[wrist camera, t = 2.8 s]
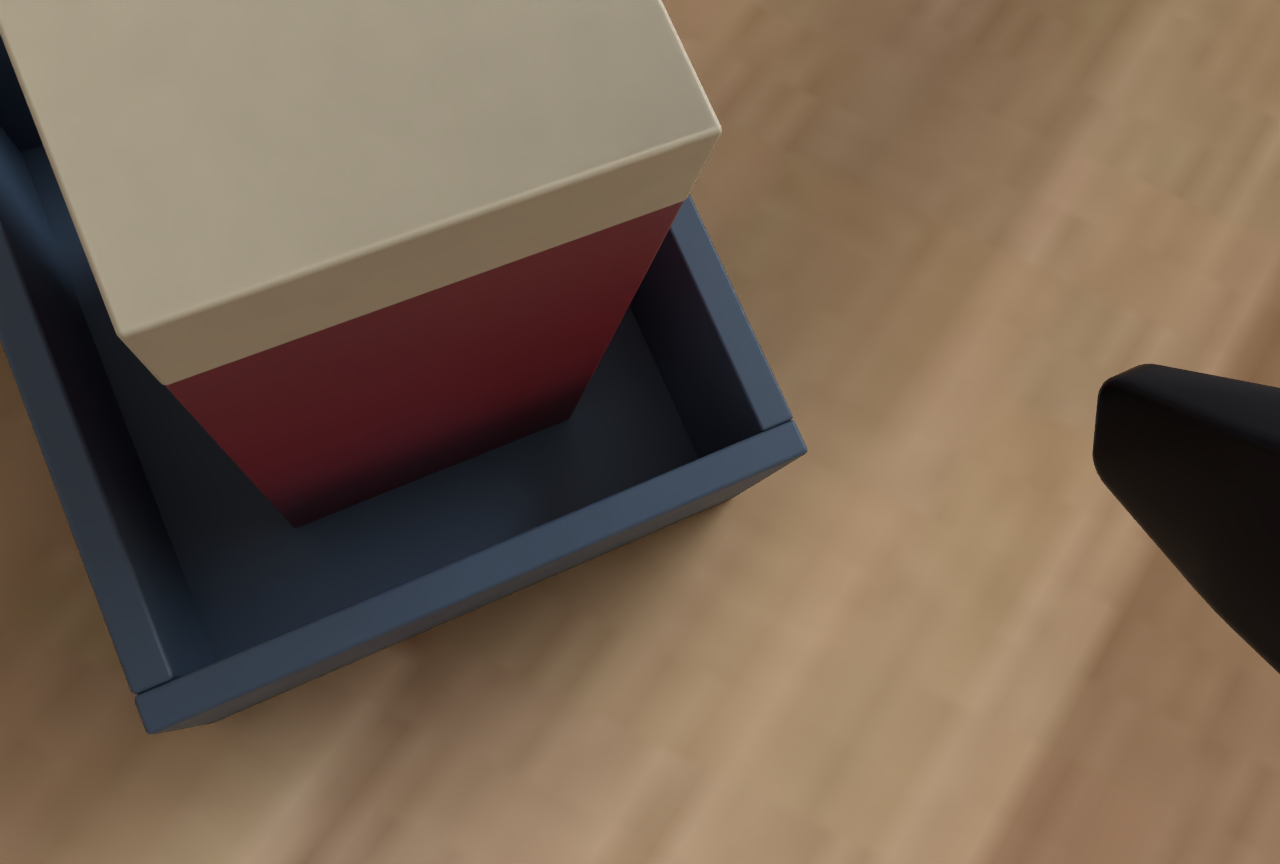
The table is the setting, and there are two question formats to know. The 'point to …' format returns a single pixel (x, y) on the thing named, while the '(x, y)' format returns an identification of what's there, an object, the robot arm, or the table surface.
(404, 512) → the box
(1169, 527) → the robot arm
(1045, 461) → the table surface
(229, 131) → the tea packet
